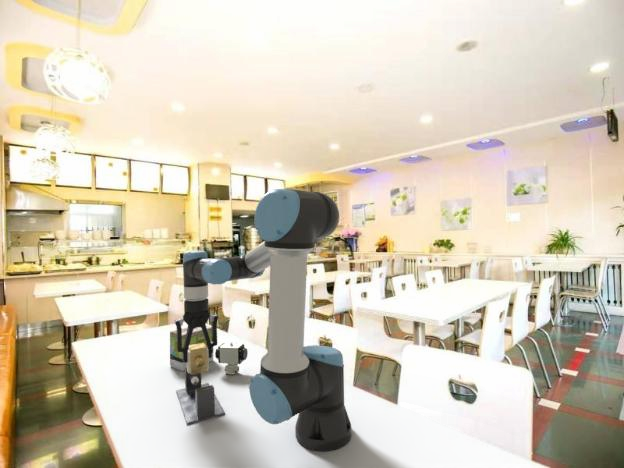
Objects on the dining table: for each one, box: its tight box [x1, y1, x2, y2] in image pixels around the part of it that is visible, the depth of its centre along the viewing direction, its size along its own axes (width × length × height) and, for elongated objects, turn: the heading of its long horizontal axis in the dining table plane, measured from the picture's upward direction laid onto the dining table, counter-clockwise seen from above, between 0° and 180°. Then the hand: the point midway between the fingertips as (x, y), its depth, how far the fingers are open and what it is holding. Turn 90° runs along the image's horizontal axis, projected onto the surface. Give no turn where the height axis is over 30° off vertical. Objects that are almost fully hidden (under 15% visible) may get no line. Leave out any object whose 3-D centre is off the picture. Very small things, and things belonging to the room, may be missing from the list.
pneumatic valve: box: [214, 342, 248, 376], centre depth 136 cm, size 6×12×12 cm, turn 78°
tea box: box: [169, 325, 214, 372], centre depth 147 cm, size 15×10×15 cm, turn 143°
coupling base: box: [175, 366, 226, 426], centre depth 112 cm, size 24×11×9 cm, turn 28°
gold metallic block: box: [188, 343, 208, 375], centre depth 112 cm, size 8×5×8 cm, turn 29°
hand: (197, 369), depth 112 cm, fingers closed on gold metallic block, 5 cm apart
